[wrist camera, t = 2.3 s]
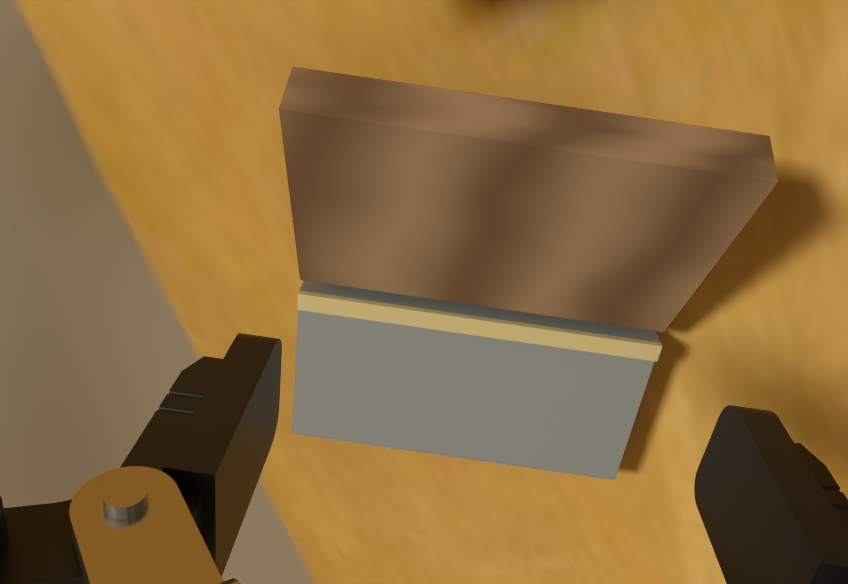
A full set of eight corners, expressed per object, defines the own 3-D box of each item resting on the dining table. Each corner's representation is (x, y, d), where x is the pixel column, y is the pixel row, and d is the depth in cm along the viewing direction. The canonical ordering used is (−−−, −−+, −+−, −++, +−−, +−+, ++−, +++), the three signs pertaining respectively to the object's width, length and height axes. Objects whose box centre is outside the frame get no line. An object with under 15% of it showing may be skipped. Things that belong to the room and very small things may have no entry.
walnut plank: (769, 136, 24) (778, 181, 23) (661, 293, 32) (663, 332, 31) (292, 66, 24) (279, 109, 23) (309, 243, 32) (300, 279, 31)
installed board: (650, 320, 33) (662, 346, 31) (608, 453, 37) (615, 484, 35) (308, 270, 33) (297, 293, 31) (300, 408, 37) (290, 437, 35)
